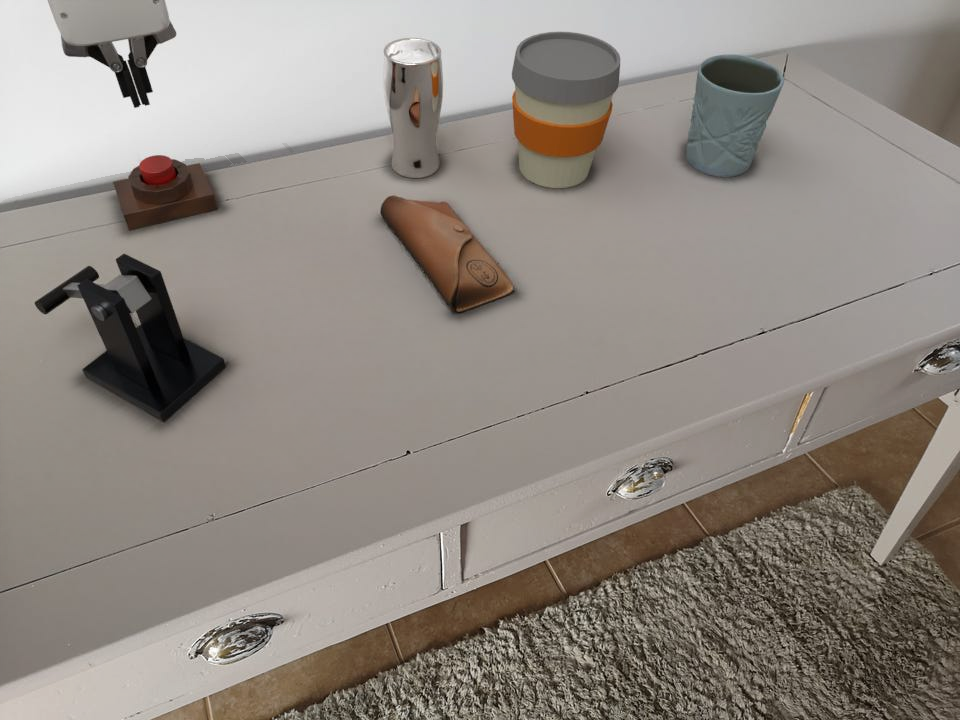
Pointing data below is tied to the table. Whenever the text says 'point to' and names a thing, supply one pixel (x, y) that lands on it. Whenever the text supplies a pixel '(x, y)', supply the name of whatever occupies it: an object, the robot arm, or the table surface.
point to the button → (157, 170)
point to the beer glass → (413, 103)
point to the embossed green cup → (730, 112)
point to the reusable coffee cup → (562, 104)
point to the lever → (120, 285)
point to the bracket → (146, 346)
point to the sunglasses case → (447, 252)
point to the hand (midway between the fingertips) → (139, 100)
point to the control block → (165, 196)
